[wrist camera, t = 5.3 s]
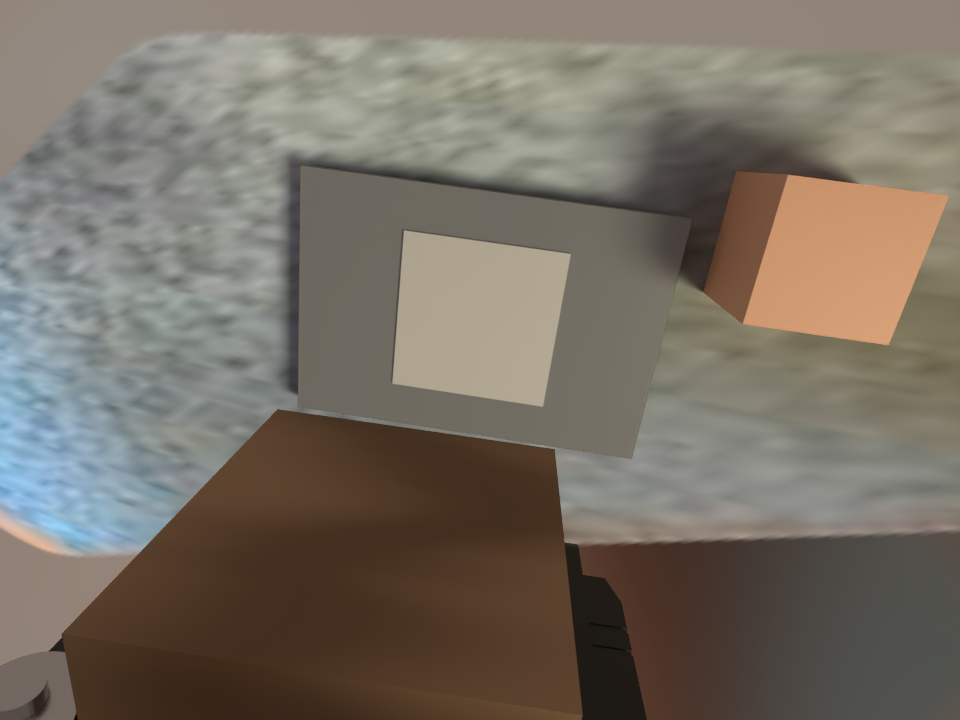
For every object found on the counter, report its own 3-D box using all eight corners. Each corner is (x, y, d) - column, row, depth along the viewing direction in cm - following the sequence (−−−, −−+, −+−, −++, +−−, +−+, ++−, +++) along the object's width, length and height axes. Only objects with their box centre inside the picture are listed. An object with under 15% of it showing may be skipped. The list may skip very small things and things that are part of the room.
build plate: (686, 216, 23) (693, 219, 22) (628, 448, 27) (632, 460, 26) (309, 165, 24) (299, 165, 23) (305, 398, 28) (296, 407, 27)
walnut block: (554, 449, 10) (583, 715, 5) (513, 658, 12) (508, 996, 7) (277, 409, 10) (62, 634, 5) (279, 621, 12) (117, 931, 7)
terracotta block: (861, 187, 22) (949, 196, 18) (819, 308, 24) (888, 345, 19) (735, 171, 22) (787, 174, 18) (702, 291, 24) (742, 323, 19)
